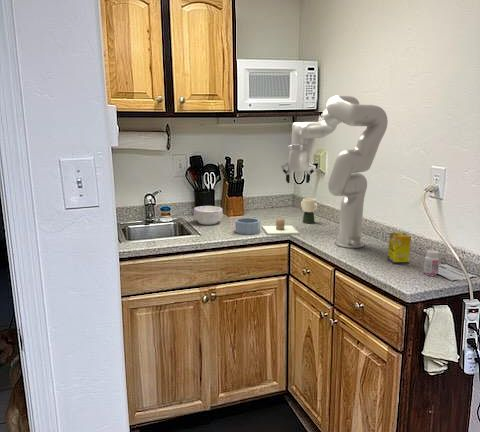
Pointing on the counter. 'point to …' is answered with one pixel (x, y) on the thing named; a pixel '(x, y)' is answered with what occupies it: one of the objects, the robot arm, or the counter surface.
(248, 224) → the bowl
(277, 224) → the lid
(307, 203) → the character mug
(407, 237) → the supplement box
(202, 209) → the pale pink bowl
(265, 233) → the mat
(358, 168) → the robot arm
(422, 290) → the counter surface
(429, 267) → the pill bottle
